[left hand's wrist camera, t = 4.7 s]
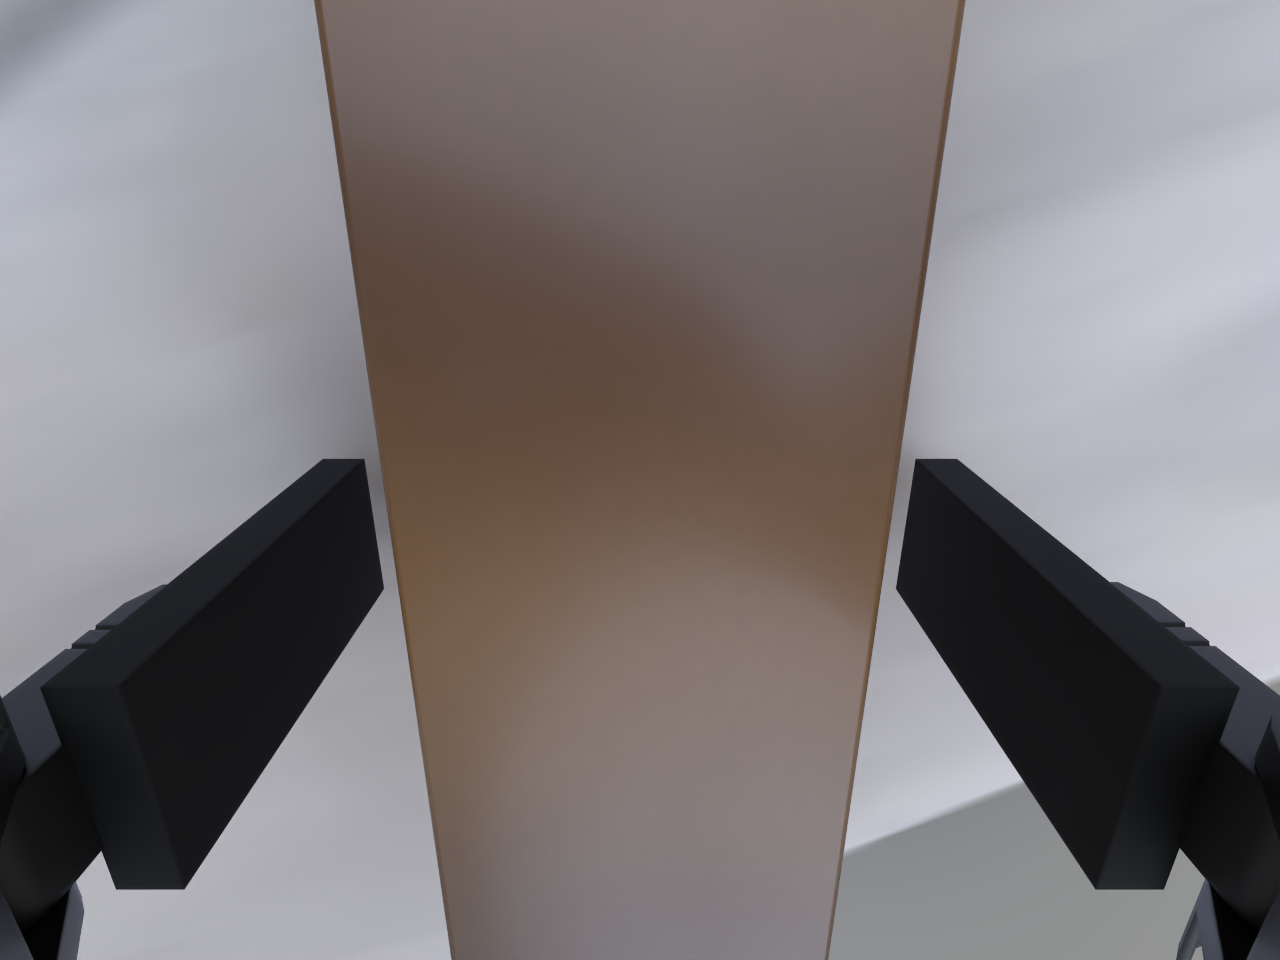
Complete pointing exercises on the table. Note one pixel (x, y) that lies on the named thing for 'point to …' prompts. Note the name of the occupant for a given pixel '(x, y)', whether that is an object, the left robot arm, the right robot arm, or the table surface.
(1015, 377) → the table surface
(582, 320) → the post
